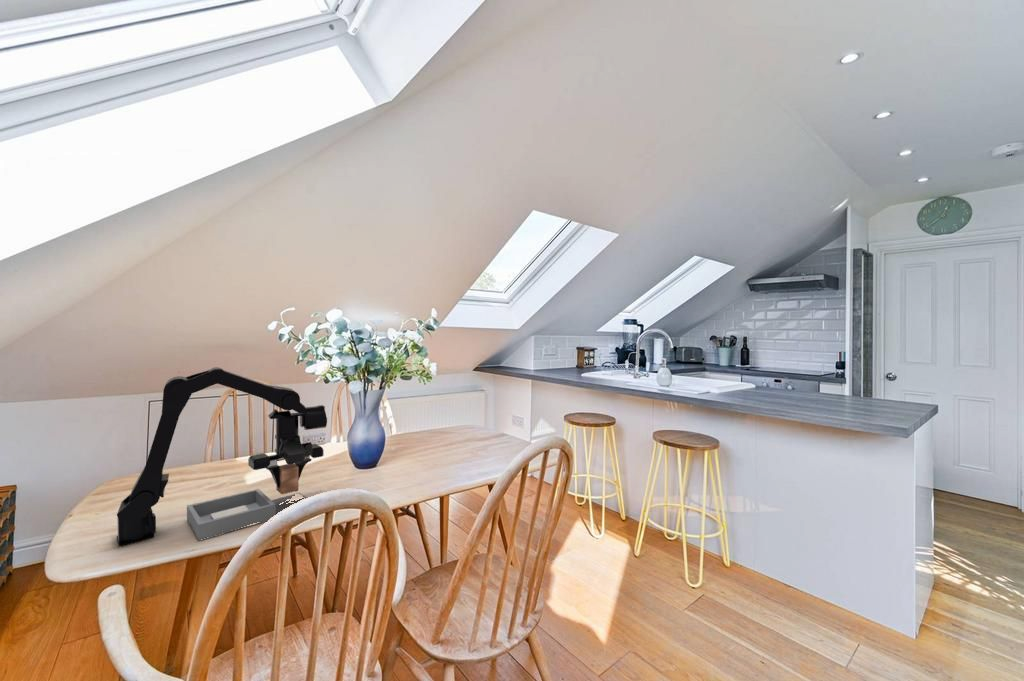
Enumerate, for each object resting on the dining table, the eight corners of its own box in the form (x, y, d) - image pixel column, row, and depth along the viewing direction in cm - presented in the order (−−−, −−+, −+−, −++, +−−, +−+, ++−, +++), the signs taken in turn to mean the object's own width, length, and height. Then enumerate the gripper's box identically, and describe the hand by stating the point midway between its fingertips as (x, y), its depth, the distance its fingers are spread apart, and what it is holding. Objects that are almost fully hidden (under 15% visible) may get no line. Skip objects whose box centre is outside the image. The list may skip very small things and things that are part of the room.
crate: (198, 541, 103) (198, 524, 103) (187, 520, 114) (186, 505, 113) (275, 518, 115) (275, 504, 115) (258, 502, 126) (258, 488, 126)
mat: (274, 515, 117) (274, 513, 117) (263, 504, 124) (263, 502, 124) (312, 504, 125) (312, 502, 125) (299, 494, 132) (299, 492, 132)
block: (281, 494, 121) (281, 470, 121) (276, 490, 124) (276, 466, 124) (298, 490, 124) (298, 466, 124) (292, 486, 127) (292, 462, 127)
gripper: (259, 443, 111) (259, 502, 112) (331, 431, 125) (331, 484, 125) (247, 435, 119) (247, 490, 120) (316, 425, 132) (316, 474, 133)
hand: (287, 485), depth 124 cm, fingers closed on block, 4 cm apart
